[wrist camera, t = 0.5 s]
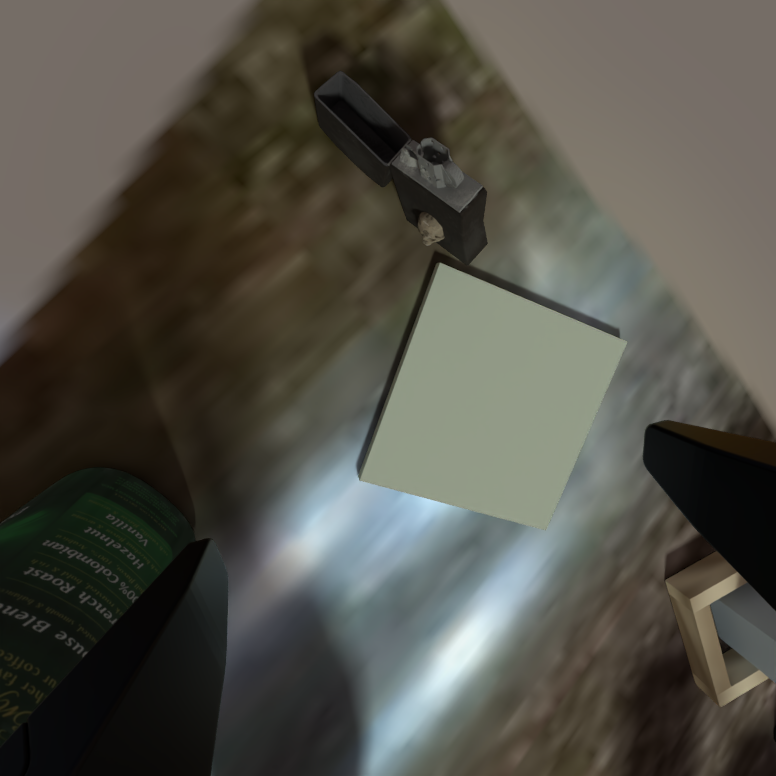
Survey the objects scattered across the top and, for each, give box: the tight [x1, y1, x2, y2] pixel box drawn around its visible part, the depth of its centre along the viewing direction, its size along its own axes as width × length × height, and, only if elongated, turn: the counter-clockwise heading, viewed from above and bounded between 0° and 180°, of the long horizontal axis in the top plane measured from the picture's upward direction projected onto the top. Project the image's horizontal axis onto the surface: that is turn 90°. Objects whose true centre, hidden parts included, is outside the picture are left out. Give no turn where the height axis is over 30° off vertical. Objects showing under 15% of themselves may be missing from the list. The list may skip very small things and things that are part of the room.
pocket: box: [665, 551, 769, 707], centre depth 31 cm, size 10×10×2 cm
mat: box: [358, 263, 627, 530], centre depth 25 cm, size 12×12×1 cm
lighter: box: [314, 71, 488, 265], centre depth 20 cm, size 9×2×6 cm
